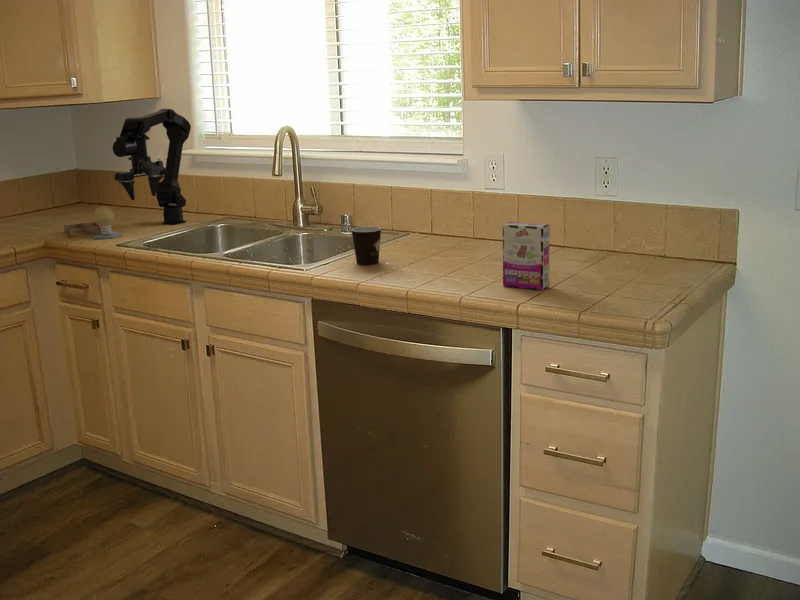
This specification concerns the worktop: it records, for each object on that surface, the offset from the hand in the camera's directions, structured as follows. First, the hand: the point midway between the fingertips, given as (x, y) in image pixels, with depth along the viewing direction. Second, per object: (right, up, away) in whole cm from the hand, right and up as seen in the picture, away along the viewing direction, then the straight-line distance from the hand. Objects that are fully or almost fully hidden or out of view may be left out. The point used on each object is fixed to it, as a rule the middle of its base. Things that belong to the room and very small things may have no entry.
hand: (143, 198), depth 322 cm
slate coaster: (-12, -14, -4) cm, 19 cm away
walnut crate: (-23, -12, +5) cm, 26 cm away
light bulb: (-12, -13, -3) cm, 18 cm away
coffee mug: (+83, -25, -55) cm, 103 cm away
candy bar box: (+124, -33, -89) cm, 156 cm away
